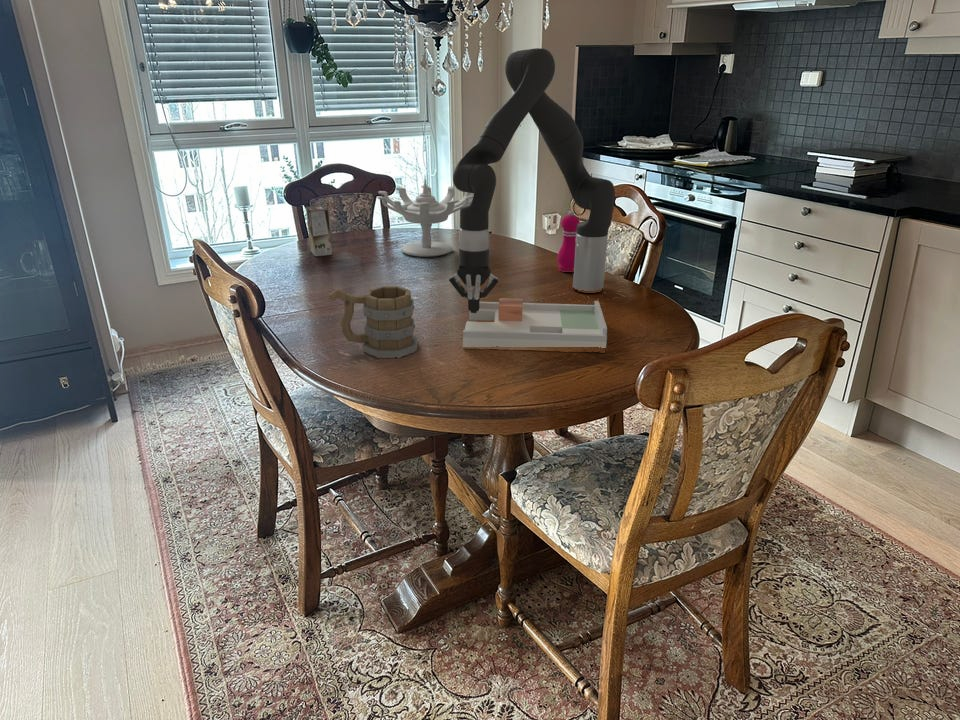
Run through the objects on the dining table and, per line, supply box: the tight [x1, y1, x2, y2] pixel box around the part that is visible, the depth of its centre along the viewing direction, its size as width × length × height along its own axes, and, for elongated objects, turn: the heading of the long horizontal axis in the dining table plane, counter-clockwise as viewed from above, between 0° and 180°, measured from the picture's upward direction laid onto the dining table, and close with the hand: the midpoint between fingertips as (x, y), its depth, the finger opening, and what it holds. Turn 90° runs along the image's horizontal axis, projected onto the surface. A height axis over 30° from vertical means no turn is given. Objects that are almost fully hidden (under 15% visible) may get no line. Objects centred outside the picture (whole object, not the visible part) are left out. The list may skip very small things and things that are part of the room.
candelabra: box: [377, 177, 474, 258], centre depth 234 cm, size 34×35×27 cm
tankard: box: [328, 285, 419, 359], centre depth 155 cm, size 20×13×15 cm, turn 92°
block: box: [498, 297, 524, 321], centre depth 169 cm, size 6×6×4 cm
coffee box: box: [305, 205, 333, 257], centre depth 234 cm, size 9×6×16 cm
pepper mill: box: [557, 210, 581, 271], centre depth 215 cm, size 7×7×20 cm
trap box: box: [462, 300, 608, 349], centre depth 165 cm, size 22×34×6 cm, turn 86°
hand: (473, 312), depth 170 cm, fingers closed
